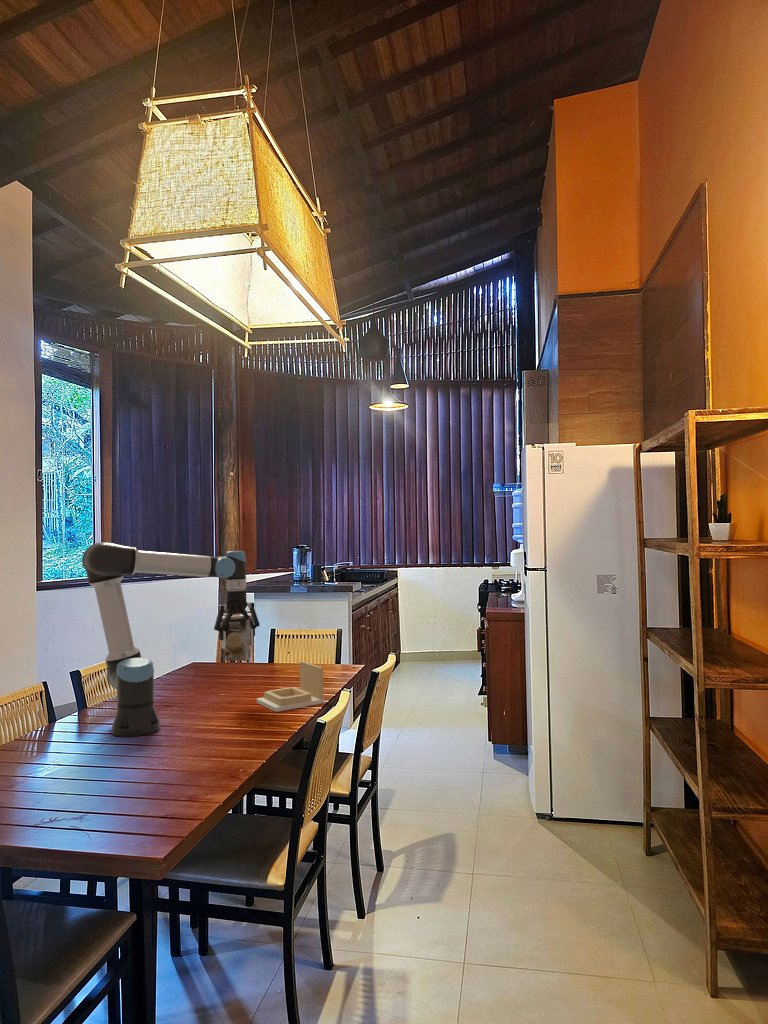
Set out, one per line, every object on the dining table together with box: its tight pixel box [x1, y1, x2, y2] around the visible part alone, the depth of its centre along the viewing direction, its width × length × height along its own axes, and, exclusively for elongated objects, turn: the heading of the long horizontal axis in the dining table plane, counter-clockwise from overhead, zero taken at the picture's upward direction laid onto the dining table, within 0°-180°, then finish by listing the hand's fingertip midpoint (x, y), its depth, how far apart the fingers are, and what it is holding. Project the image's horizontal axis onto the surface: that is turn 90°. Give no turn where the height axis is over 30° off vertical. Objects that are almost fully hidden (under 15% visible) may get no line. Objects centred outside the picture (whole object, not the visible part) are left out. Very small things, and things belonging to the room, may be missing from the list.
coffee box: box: [223, 617, 252, 662], centre depth 254 cm, size 9×6×16 cm
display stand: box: [256, 660, 325, 713], centre depth 251 cm, size 20×18×14 cm
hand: (237, 646), depth 254 cm, fingers closed on coffee box, 10 cm apart
